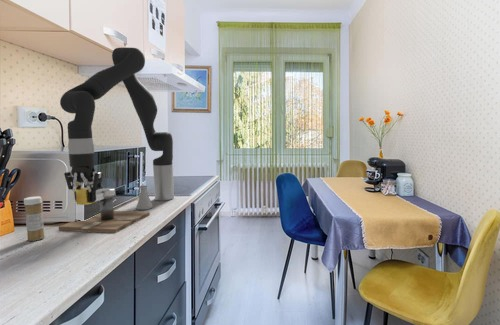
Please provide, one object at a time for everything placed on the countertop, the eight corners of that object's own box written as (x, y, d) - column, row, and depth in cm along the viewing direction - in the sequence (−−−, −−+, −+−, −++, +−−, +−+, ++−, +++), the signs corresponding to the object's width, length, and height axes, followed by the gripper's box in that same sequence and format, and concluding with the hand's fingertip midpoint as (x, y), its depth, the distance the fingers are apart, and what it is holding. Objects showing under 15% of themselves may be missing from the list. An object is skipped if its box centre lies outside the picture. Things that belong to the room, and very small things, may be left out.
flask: (155, 206, 137) (154, 184, 136) (148, 210, 130) (147, 187, 129) (140, 206, 138) (139, 184, 137) (132, 210, 131) (131, 187, 130)
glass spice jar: (107, 216, 117) (106, 195, 117) (117, 216, 117) (116, 196, 116) (96, 220, 111) (95, 199, 110) (107, 221, 110) (106, 199, 110)
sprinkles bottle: (34, 236, 99) (30, 196, 98) (48, 236, 99) (44, 195, 97) (23, 241, 94) (19, 199, 93) (38, 241, 94) (34, 198, 93)
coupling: (104, 195, 117) (103, 182, 116) (119, 195, 116) (118, 182, 115) (73, 204, 102) (72, 189, 102) (90, 204, 101) (89, 190, 100)
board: (101, 213, 127) (101, 209, 127) (149, 214, 123) (149, 211, 123) (56, 230, 104) (56, 226, 104) (114, 233, 100) (113, 229, 100)
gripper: (107, 151, 103) (111, 200, 105) (73, 151, 107) (77, 198, 109) (91, 152, 96) (95, 205, 98) (54, 153, 100) (59, 203, 102)
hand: (85, 201), depth 103 cm, fingers open, 4 cm apart
